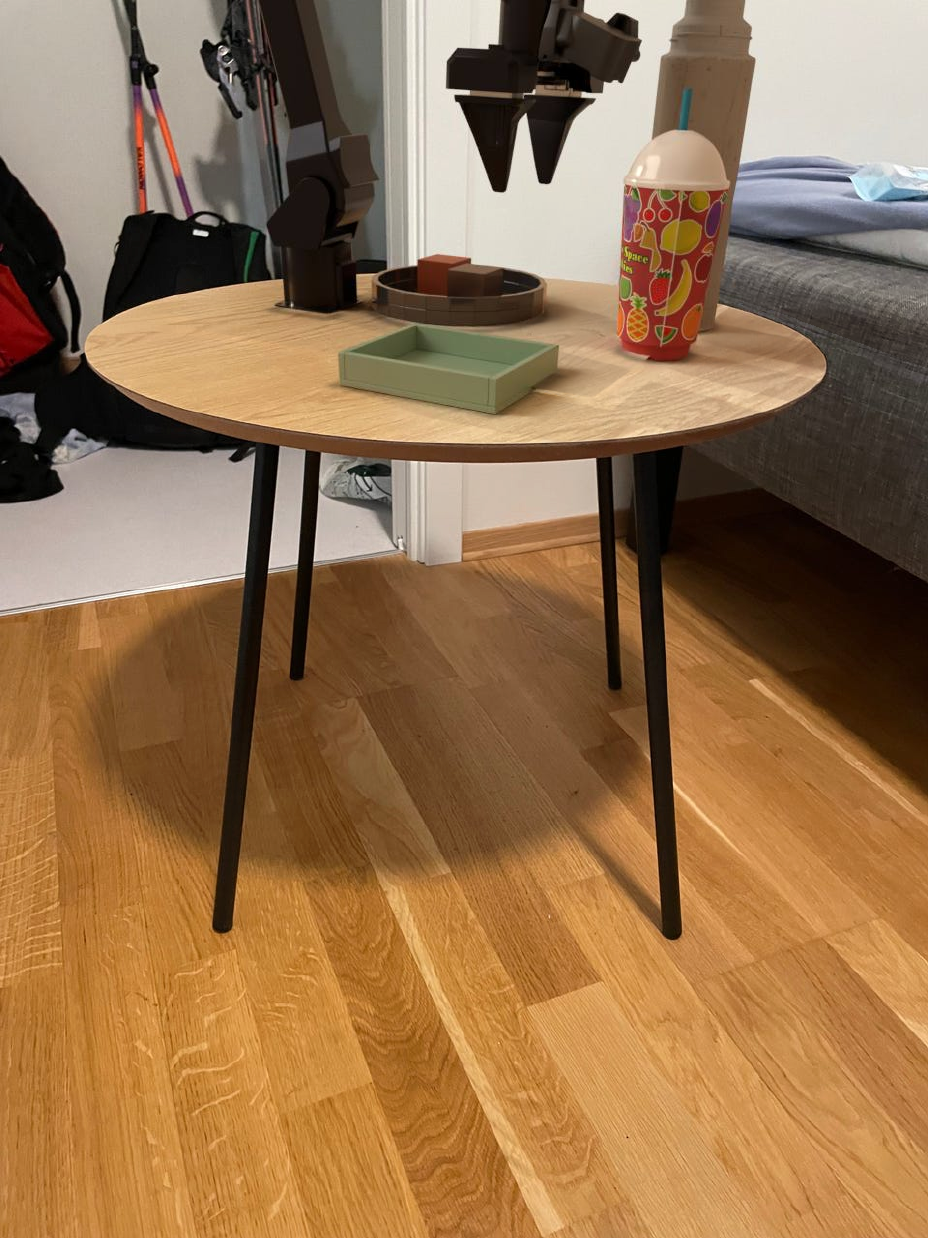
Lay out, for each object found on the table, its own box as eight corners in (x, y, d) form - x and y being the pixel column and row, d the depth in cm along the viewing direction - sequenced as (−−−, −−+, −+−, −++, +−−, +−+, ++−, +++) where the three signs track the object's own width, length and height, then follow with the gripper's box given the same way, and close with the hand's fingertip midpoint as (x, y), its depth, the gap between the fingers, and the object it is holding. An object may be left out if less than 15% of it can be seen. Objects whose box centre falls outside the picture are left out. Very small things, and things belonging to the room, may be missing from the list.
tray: (339, 385, 71) (337, 351, 69) (413, 352, 79) (413, 322, 78) (495, 414, 66) (496, 379, 64) (557, 376, 74) (559, 344, 73)
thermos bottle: (704, 314, 95) (754, -19, 80) (722, 333, 88) (780, -27, 74) (626, 312, 95) (662, -21, 80) (637, 331, 88) (679, -30, 74)
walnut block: (446, 312, 90) (446, 269, 88) (465, 305, 94) (466, 263, 92) (483, 317, 89) (484, 273, 87) (501, 310, 92) (503, 267, 90)
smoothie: (597, 340, 84) (622, 86, 74) (687, 340, 85) (723, 89, 75) (618, 365, 77) (648, 88, 67) (716, 365, 78) (760, 91, 68)
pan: (338, 315, 90) (337, 283, 89) (426, 286, 104) (426, 258, 102) (498, 340, 84) (499, 305, 82) (570, 305, 97) (572, 275, 95)
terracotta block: (417, 300, 95) (417, 259, 93) (436, 294, 98) (436, 253, 96) (452, 305, 93) (452, 263, 91) (470, 298, 96) (471, 257, 94)
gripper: (589, -43, 63) (566, 207, 71) (673, -18, 77) (646, 188, 85) (446, -44, 67) (439, 192, 75) (550, -20, 82) (535, 176, 90)
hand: (522, 187), depth 81 cm, fingers open, 9 cm apart
